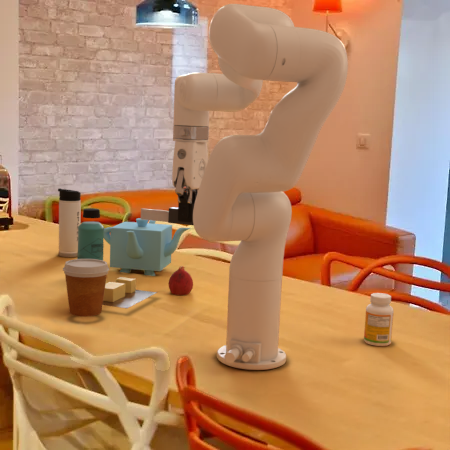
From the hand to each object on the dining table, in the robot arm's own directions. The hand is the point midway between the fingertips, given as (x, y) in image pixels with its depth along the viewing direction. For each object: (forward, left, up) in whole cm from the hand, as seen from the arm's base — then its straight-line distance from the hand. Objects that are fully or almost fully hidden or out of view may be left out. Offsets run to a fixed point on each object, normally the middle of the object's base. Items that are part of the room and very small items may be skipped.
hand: (188, 220), depth 160 cm
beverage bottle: (+10, +29, -21) cm, 37 cm away
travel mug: (+44, +55, -21) cm, 74 cm away
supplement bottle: (-1, -42, -21) cm, 47 cm away
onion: (+12, +6, -21) cm, 25 cm away
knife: (0, +4, -1) cm, 4 cm away
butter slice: (+7, +18, -19) cm, 28 cm away
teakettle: (+35, +26, -21) cm, 49 cm away
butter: (0, +18, -19) cm, 27 cm away
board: (+2, +17, -21) cm, 27 cm away
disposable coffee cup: (-13, +17, -21) cm, 30 cm away
